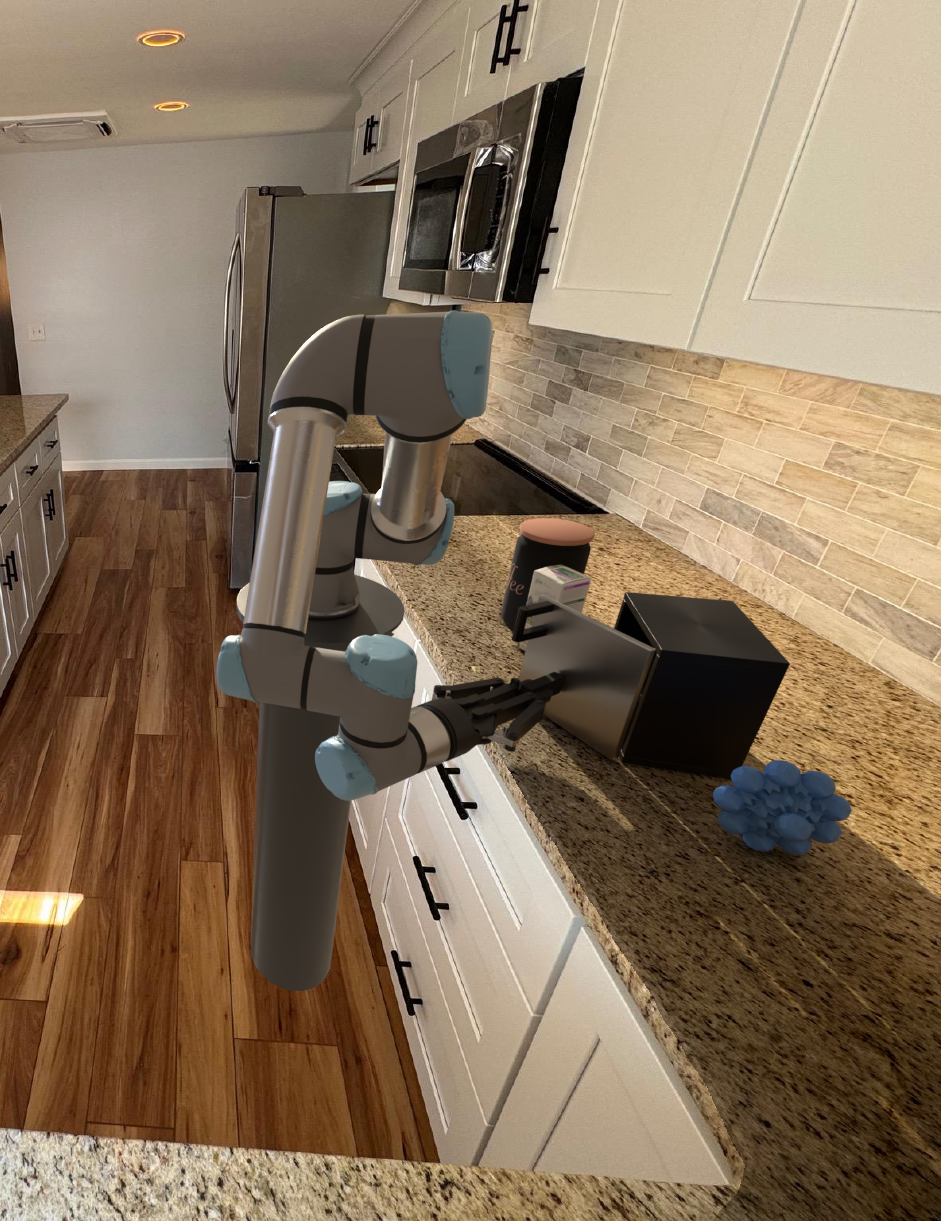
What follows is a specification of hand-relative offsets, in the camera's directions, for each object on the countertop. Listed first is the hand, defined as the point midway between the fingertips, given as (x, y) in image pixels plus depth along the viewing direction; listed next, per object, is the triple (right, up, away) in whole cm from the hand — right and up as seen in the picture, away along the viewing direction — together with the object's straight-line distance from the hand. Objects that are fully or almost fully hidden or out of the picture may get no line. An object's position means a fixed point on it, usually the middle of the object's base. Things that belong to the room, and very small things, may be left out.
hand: (557, 682), depth 92 cm
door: (-1, -7, +1) cm, 7 cm away
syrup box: (+9, +3, +18) cm, 21 cm away
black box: (+13, -7, -1) cm, 15 cm away
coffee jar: (+13, +7, +27) cm, 31 cm away
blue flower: (+10, -17, -19) cm, 28 cm away
